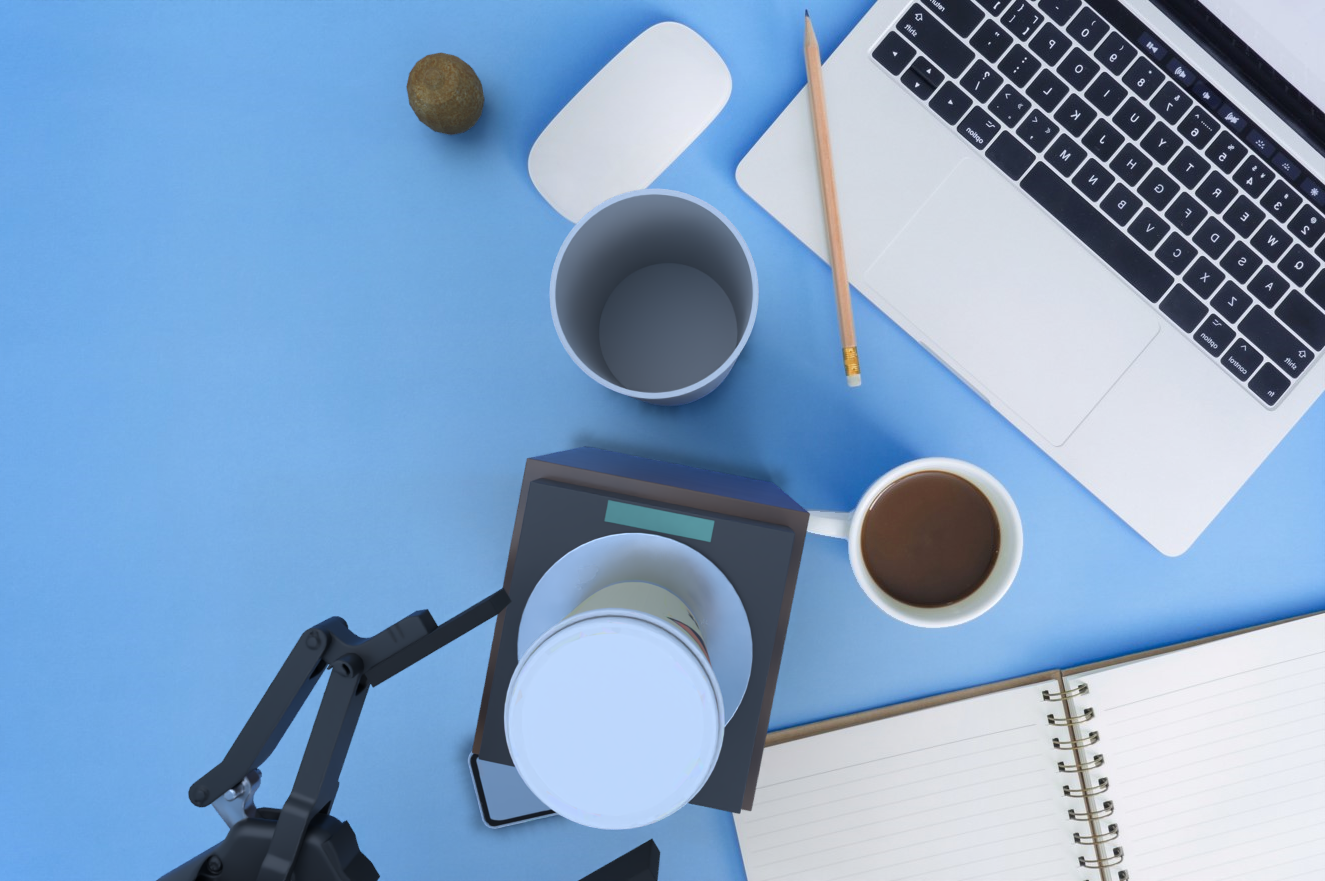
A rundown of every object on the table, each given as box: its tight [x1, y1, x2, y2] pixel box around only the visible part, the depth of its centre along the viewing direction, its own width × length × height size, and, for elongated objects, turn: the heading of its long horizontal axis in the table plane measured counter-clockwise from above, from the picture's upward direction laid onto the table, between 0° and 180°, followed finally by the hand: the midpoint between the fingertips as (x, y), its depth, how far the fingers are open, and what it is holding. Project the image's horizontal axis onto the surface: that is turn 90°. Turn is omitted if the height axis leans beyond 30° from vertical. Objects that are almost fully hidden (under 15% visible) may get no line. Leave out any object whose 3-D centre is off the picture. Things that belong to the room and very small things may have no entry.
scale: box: [479, 478, 795, 815], centre depth 50 cm, size 16×15×3 cm
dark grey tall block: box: [471, 445, 811, 812], centre depth 65 cm, size 18×17×26 cm
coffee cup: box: [504, 582, 725, 831], centre depth 42 cm, size 9×9×12 cm
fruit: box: [405, 52, 486, 136], centre depth 74 cm, size 6×6×8 cm
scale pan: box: [517, 532, 753, 728], centre depth 49 cm, size 13×13×1 cm
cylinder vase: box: [549, 188, 760, 407], centre depth 65 cm, size 12×12×25 cm
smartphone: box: [467, 751, 560, 830], centre depth 78 cm, size 7×1×15 cm
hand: (578, 729), depth 40 cm, fingers open, 13 cm apart
